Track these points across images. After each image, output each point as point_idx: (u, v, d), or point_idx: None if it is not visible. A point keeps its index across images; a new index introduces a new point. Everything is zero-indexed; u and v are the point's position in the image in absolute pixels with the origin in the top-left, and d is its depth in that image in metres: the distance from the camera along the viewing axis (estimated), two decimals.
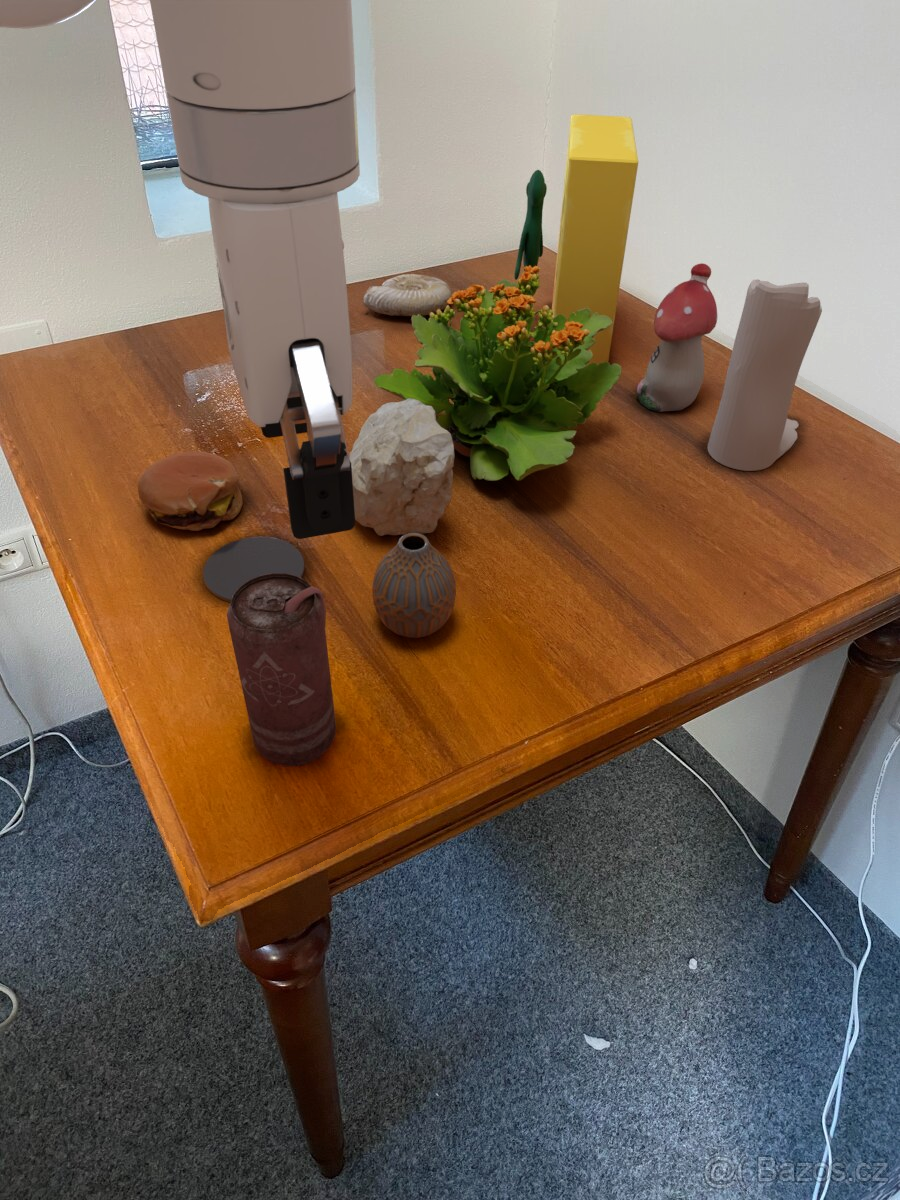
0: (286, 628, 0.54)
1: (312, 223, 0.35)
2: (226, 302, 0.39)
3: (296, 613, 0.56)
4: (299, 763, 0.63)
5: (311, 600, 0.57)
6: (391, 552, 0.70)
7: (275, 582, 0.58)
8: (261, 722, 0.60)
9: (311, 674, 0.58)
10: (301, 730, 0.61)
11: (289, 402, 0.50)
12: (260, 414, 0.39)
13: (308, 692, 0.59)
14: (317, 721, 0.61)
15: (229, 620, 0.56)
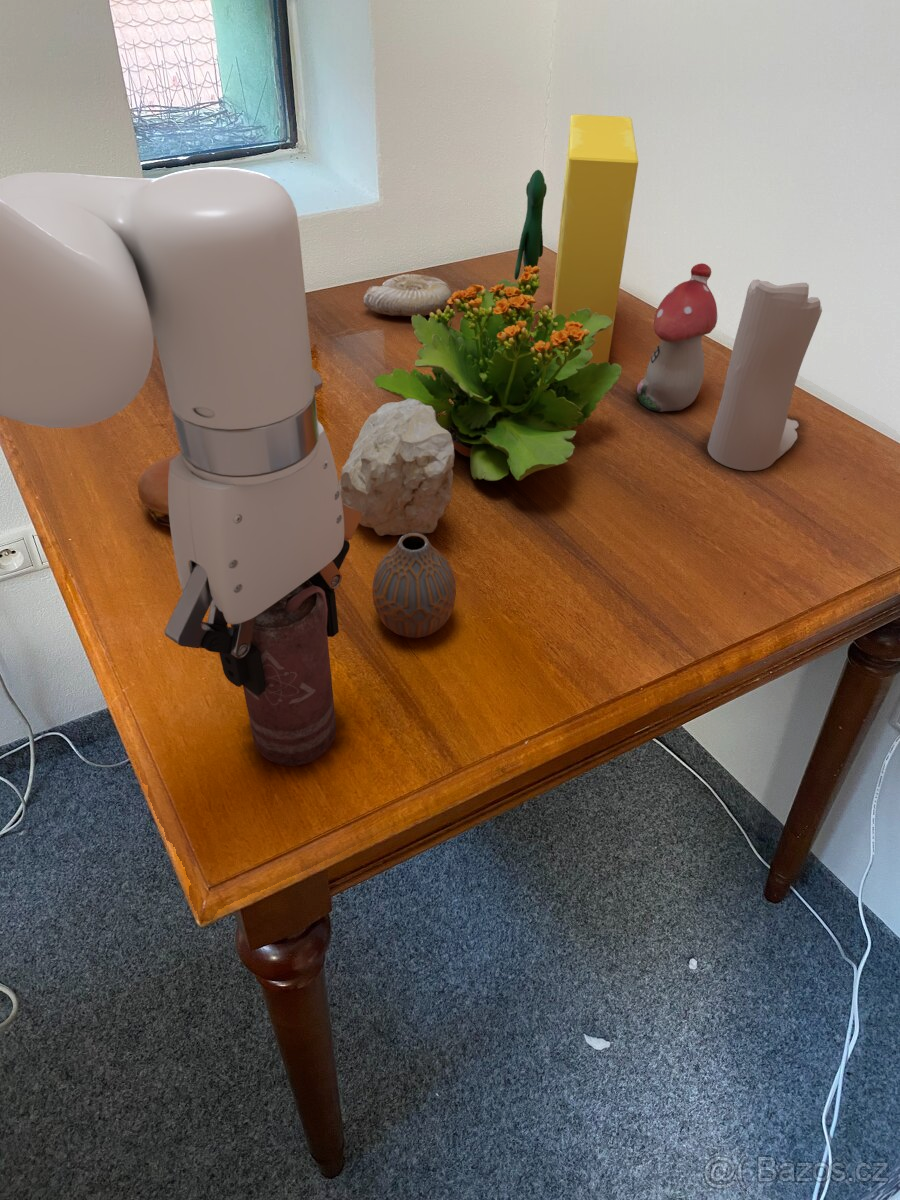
0: (288, 626, 0.54)
1: (200, 497, 0.46)
2: None
3: (298, 612, 0.56)
4: (299, 763, 0.63)
5: (312, 599, 0.57)
6: (391, 552, 0.70)
7: None
8: (261, 721, 0.60)
9: (312, 673, 0.58)
10: (302, 729, 0.61)
11: None
12: (182, 589, 0.52)
13: (309, 691, 0.59)
14: (317, 720, 0.61)
15: None
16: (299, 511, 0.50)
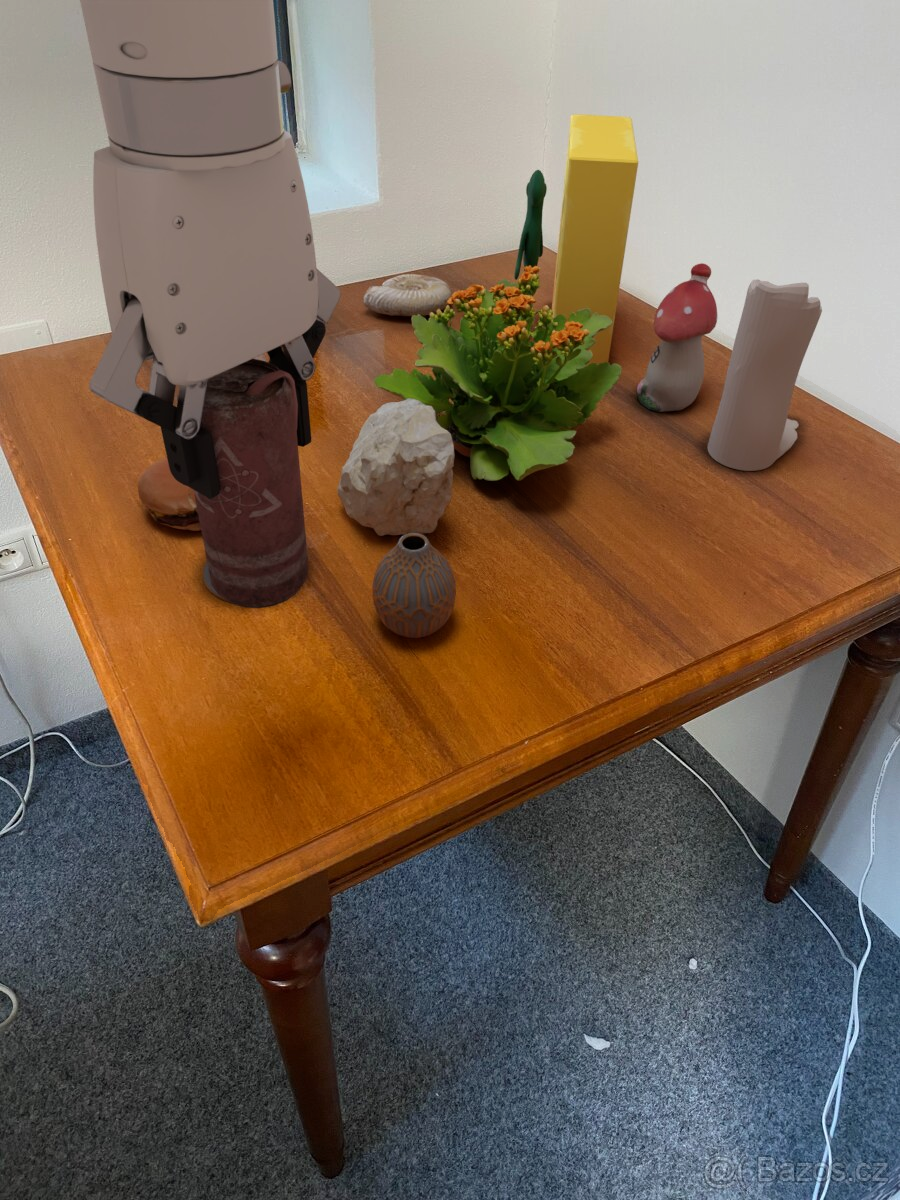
0: (247, 406, 0.45)
1: (130, 187, 0.36)
2: None
3: (261, 395, 0.46)
4: (263, 603, 0.53)
5: (279, 385, 0.47)
6: (391, 552, 0.70)
7: (237, 367, 0.48)
8: (217, 544, 0.50)
9: (278, 479, 0.48)
10: (265, 556, 0.51)
11: None
12: None
13: (274, 503, 0.49)
14: (285, 546, 0.51)
15: None
16: (259, 239, 0.41)
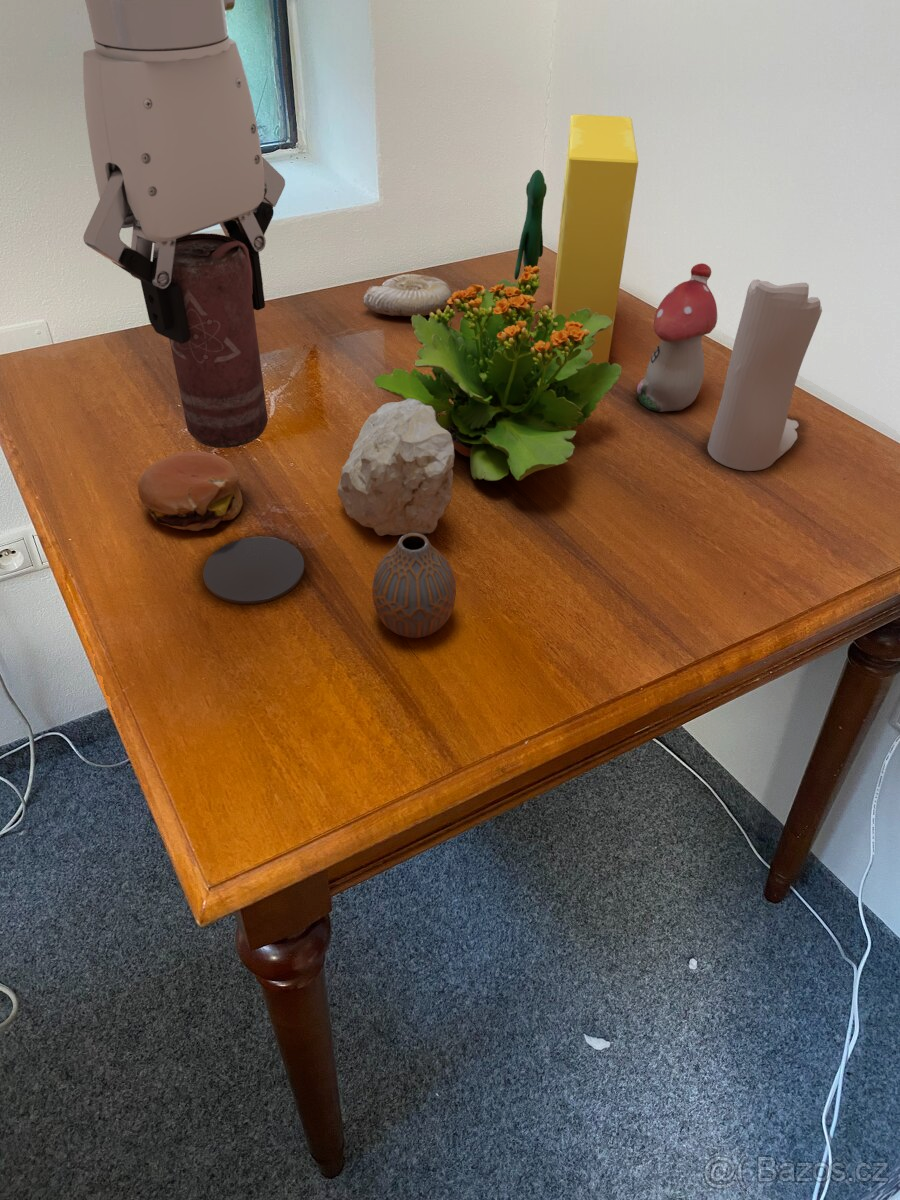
0: (208, 263, 0.57)
1: (111, 75, 0.48)
2: None
3: (220, 258, 0.58)
4: (229, 442, 0.65)
5: (235, 251, 0.59)
6: (391, 552, 0.70)
7: (202, 241, 0.60)
8: (190, 388, 0.63)
9: (236, 329, 0.60)
10: (229, 398, 0.63)
11: None
12: None
13: (234, 351, 0.61)
14: (245, 392, 0.63)
15: None
16: (212, 124, 0.52)
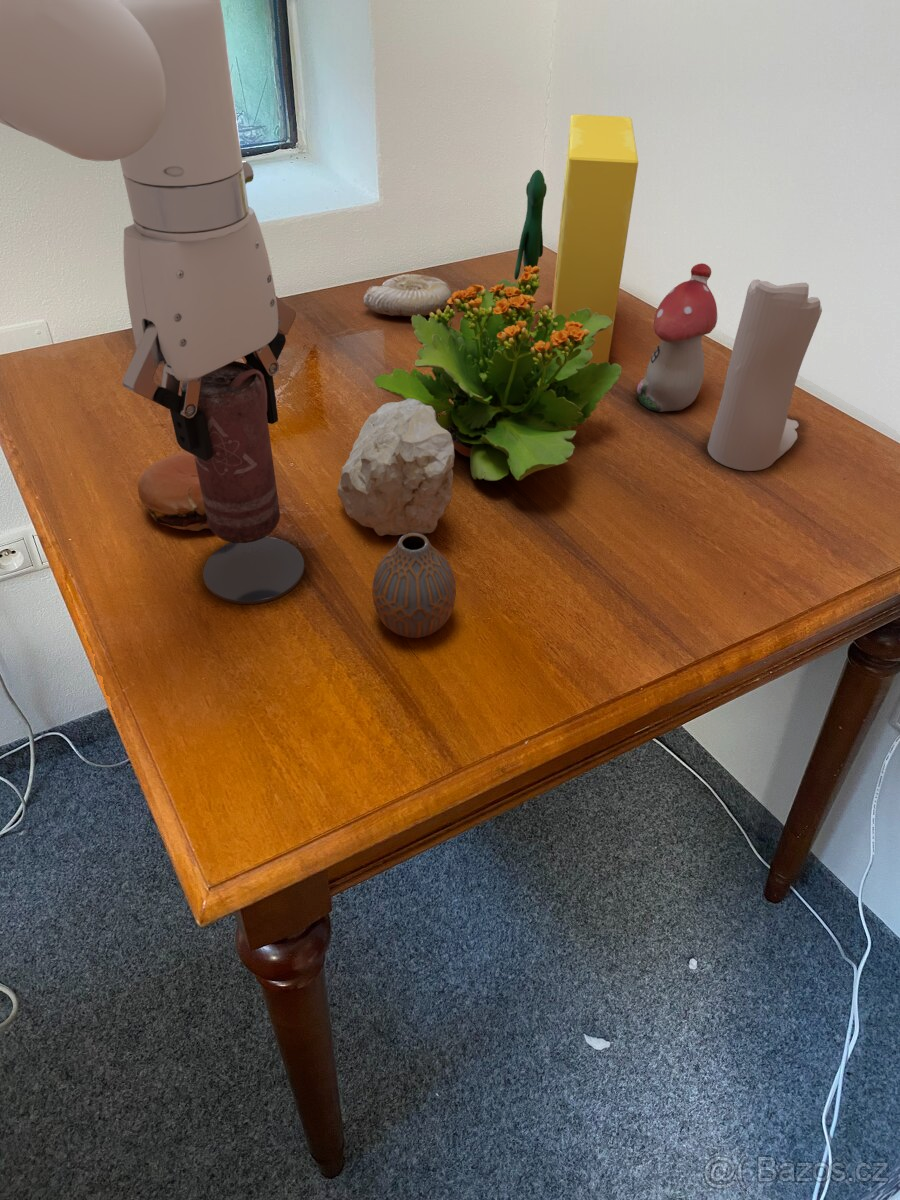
0: (230, 394, 0.64)
1: (148, 252, 0.56)
2: None
3: (239, 386, 0.66)
4: (246, 538, 0.73)
5: (252, 379, 0.67)
6: (391, 552, 0.70)
7: (223, 367, 0.68)
8: (212, 495, 0.70)
9: (253, 446, 0.68)
10: (247, 503, 0.71)
11: None
12: None
13: (251, 464, 0.69)
14: (260, 496, 0.71)
15: None
16: (234, 281, 0.60)
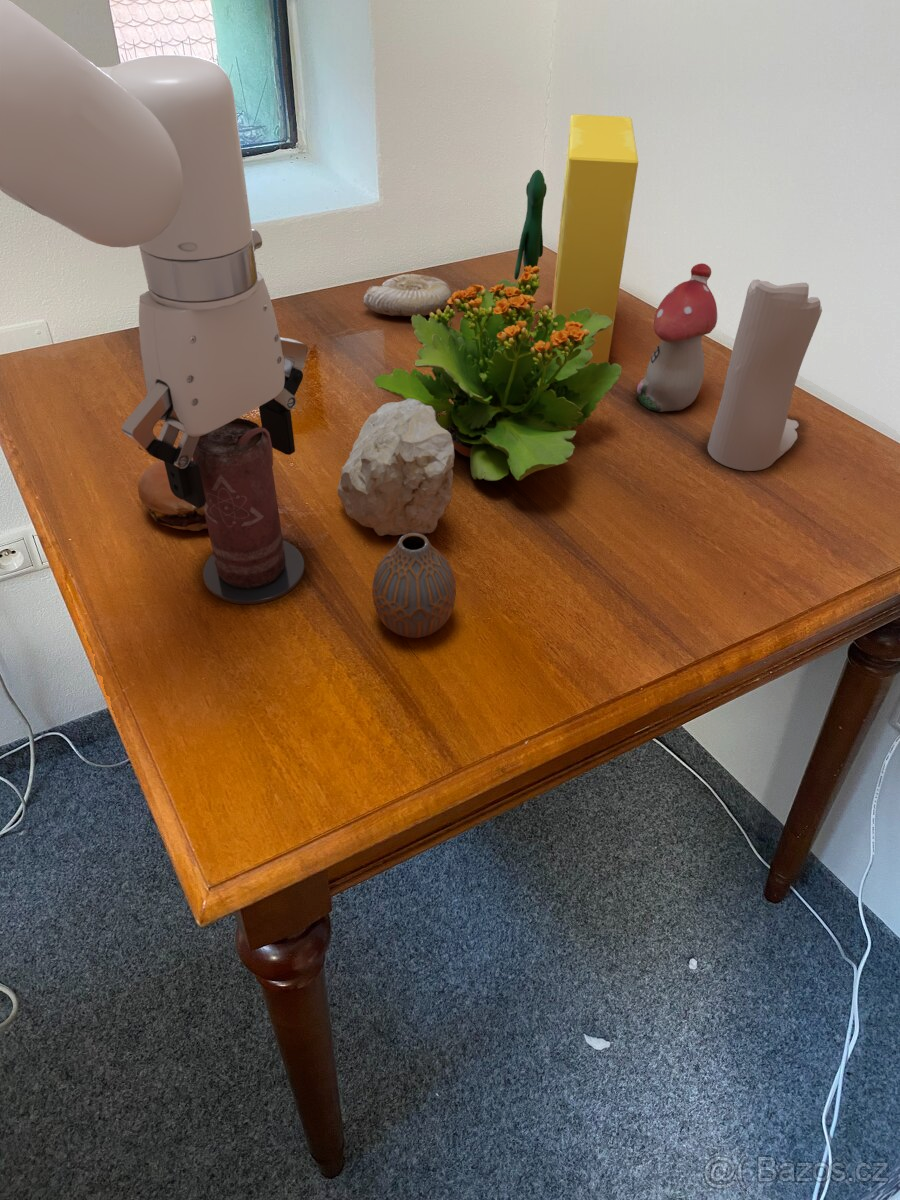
0: (237, 454, 0.68)
1: (163, 320, 0.59)
2: None
3: (246, 445, 0.69)
4: (253, 584, 0.76)
5: (259, 437, 0.70)
6: (391, 552, 0.70)
7: (231, 425, 0.71)
8: (220, 545, 0.74)
9: (260, 500, 0.71)
10: (253, 552, 0.74)
11: (274, 428, 0.73)
12: None
13: (258, 516, 0.72)
14: (267, 545, 0.74)
15: None
16: (243, 343, 0.63)
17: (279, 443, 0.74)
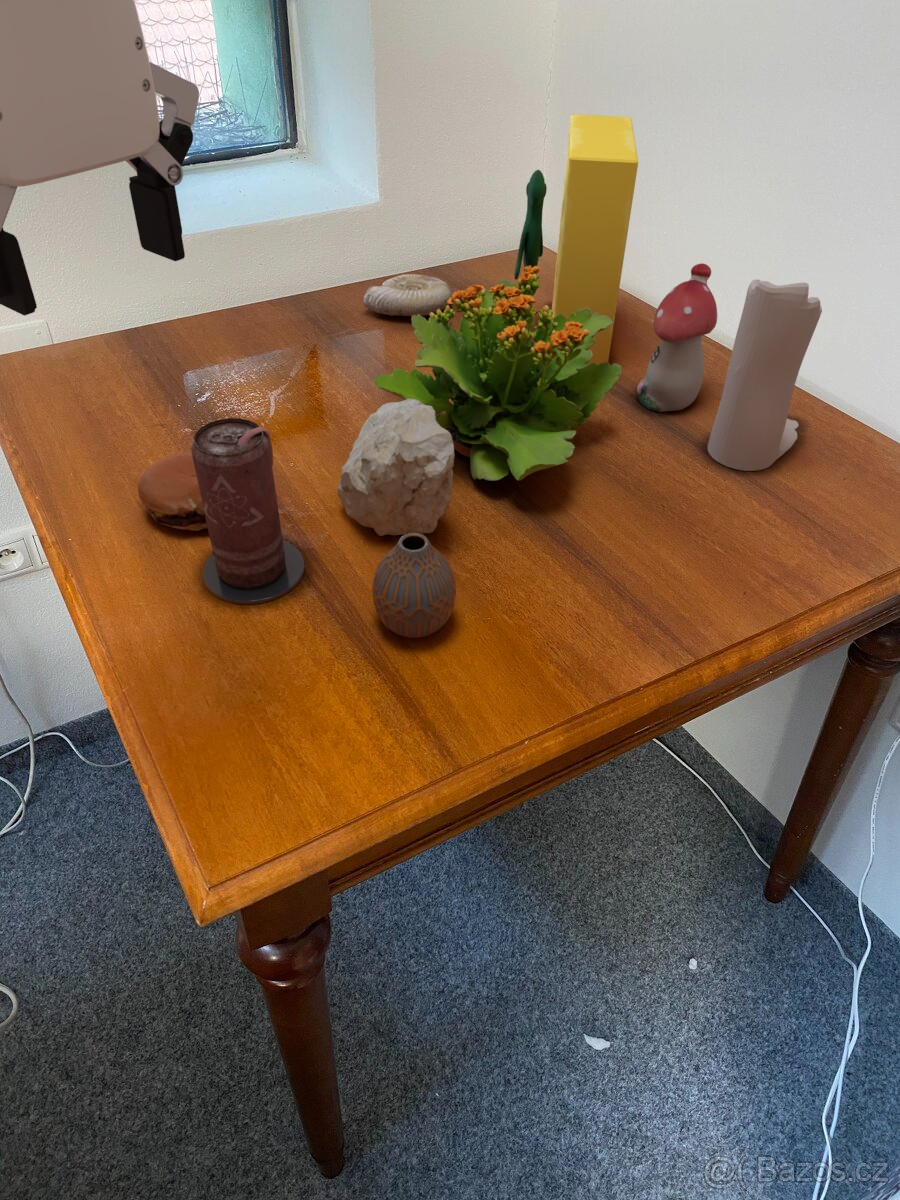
0: (237, 454, 0.68)
1: None
2: None
3: (246, 445, 0.69)
4: (253, 584, 0.76)
5: (259, 437, 0.70)
6: (391, 552, 0.70)
7: (231, 425, 0.71)
8: (220, 545, 0.74)
9: (260, 500, 0.71)
10: (253, 552, 0.74)
11: (152, 218, 0.50)
12: None
13: (258, 516, 0.72)
14: (267, 545, 0.74)
15: (192, 450, 0.69)
16: (78, 29, 0.40)
17: (161, 241, 0.50)
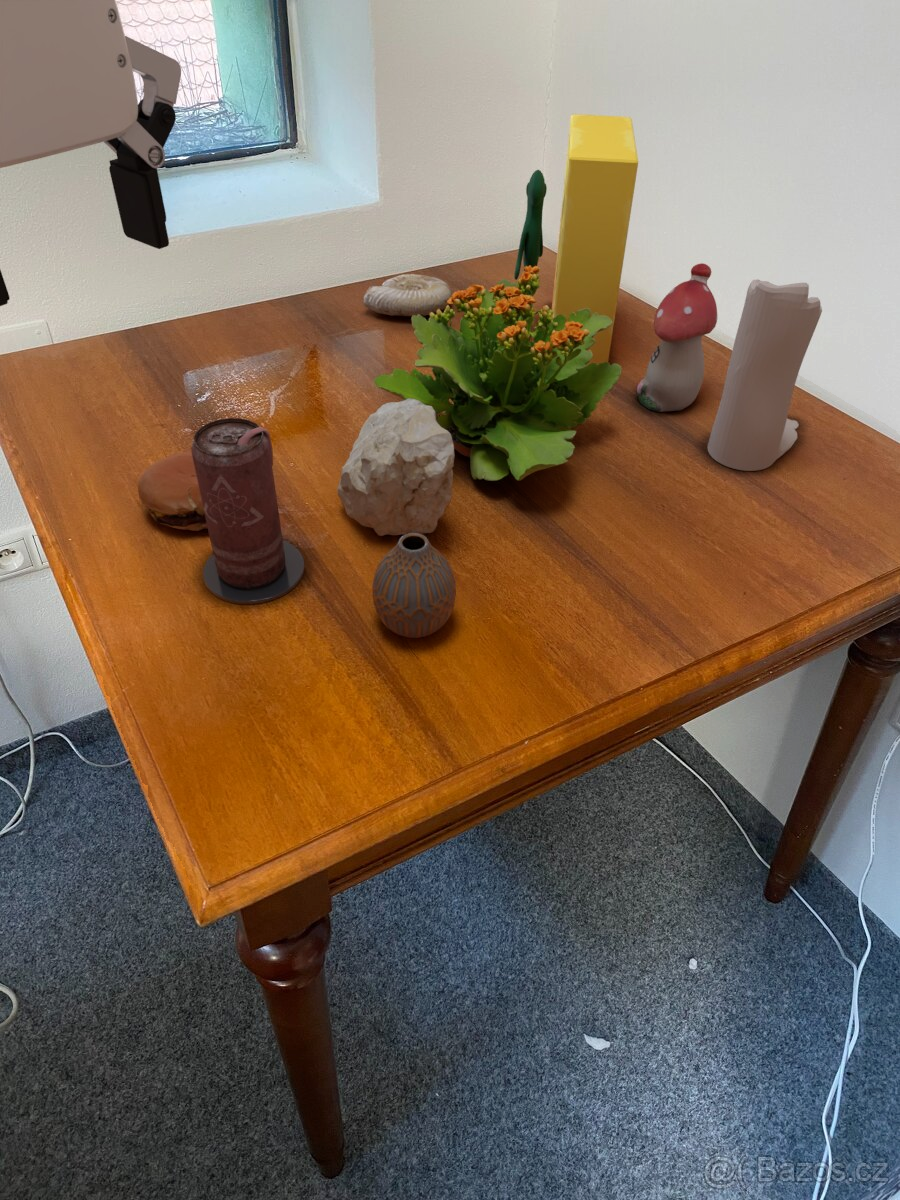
0: (237, 454, 0.68)
1: None
2: None
3: (246, 445, 0.69)
4: (253, 584, 0.76)
5: (259, 437, 0.70)
6: (391, 552, 0.70)
7: (231, 425, 0.71)
8: (220, 545, 0.74)
9: (260, 500, 0.71)
10: (253, 552, 0.74)
11: (133, 203, 0.47)
12: None
13: (258, 516, 0.72)
14: (267, 545, 0.74)
15: (192, 450, 0.69)
16: (44, 0, 0.37)
17: (144, 228, 0.48)
